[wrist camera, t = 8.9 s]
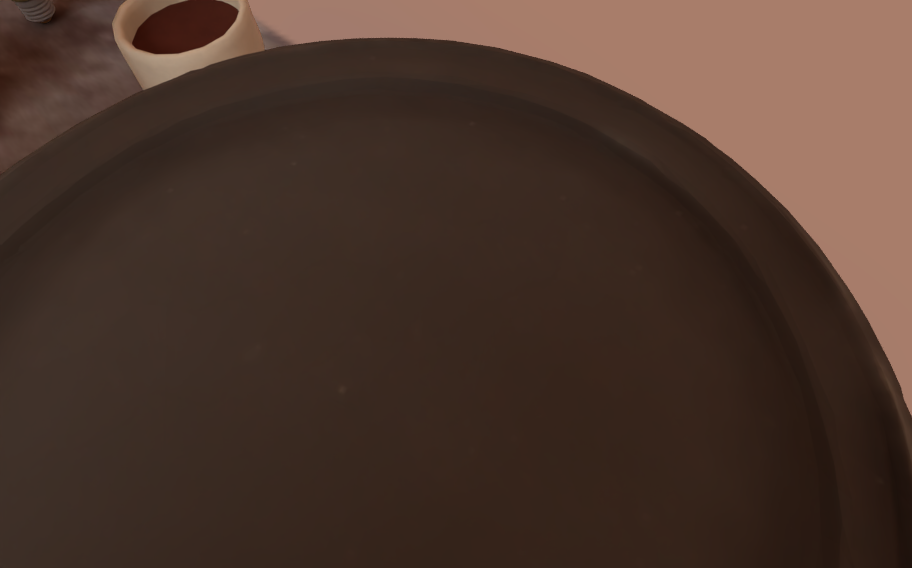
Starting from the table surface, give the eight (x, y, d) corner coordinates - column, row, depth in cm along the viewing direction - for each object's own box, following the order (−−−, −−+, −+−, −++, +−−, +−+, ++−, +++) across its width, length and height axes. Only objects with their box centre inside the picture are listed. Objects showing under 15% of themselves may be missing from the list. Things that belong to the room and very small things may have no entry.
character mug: (346, 176, 44) (304, 12, 33) (277, 247, 41) (204, 94, 30) (233, 114, 47) (160, -54, 36) (162, 175, 44) (57, 13, 33)
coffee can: (187, 772, 16) (-743, 1159, 4) (293, 384, 21) (65, 2, 9) (607, 841, 15) (1243, 1615, 3) (608, 422, 20) (833, 63, 8)
